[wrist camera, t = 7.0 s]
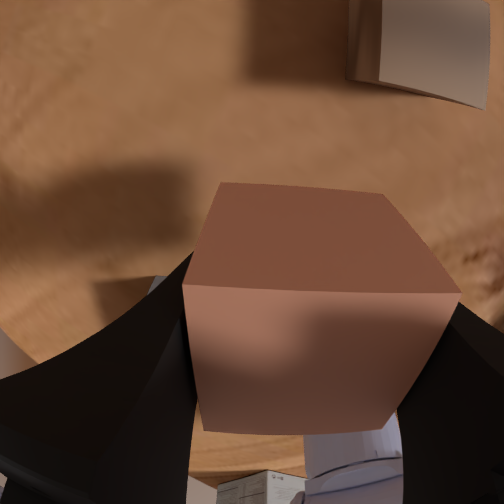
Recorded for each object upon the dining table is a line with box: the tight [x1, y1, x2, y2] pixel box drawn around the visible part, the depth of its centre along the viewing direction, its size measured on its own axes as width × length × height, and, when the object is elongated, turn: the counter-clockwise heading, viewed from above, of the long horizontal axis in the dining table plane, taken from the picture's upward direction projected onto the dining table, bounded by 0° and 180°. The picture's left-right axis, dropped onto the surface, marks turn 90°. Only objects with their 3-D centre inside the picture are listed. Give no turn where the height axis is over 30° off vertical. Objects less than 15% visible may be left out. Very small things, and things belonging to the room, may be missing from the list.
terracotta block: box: [182, 183, 462, 435], centre depth 8 cm, size 5×5×5 cm
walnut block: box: [345, 0, 490, 110], centre depth 10 cm, size 5×5×5 cm
